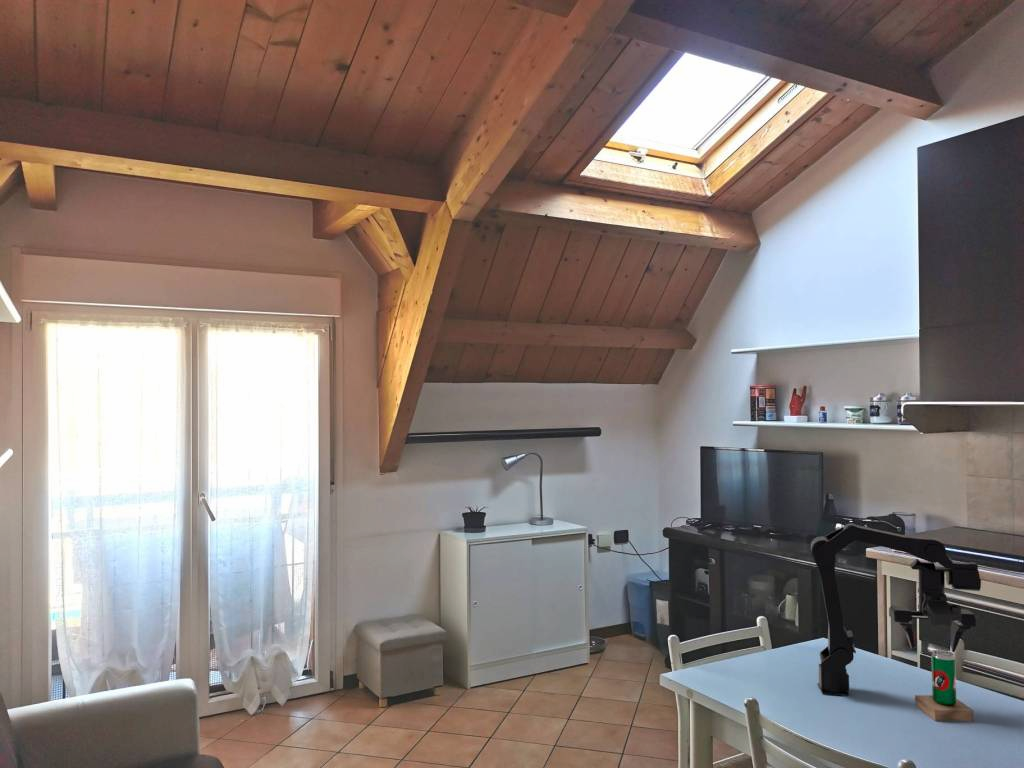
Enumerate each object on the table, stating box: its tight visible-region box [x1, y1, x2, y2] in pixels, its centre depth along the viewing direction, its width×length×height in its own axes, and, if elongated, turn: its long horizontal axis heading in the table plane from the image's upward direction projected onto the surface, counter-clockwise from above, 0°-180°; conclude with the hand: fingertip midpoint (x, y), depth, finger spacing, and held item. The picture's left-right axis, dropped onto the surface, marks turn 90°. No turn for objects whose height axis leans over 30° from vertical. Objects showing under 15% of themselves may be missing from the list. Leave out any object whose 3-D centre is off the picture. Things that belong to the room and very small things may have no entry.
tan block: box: [914, 694, 975, 722], centre depth 180 cm, size 9×9×2 cm
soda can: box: [930, 649, 957, 706], centre depth 180 cm, size 5×5×12 cm
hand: (932, 650), depth 187 cm, fingers open, 9 cm apart
